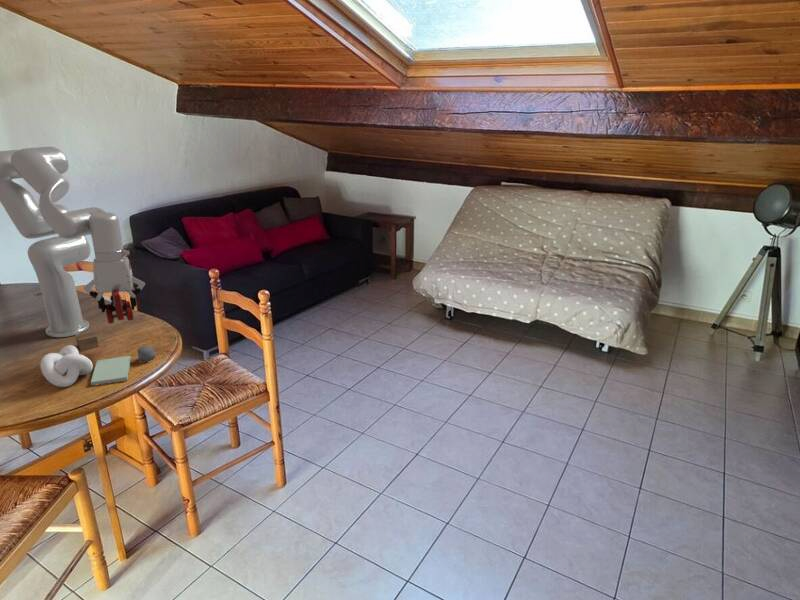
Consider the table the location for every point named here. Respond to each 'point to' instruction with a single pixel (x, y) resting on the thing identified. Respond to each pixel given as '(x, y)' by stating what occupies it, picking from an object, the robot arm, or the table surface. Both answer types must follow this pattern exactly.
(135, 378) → the table surface
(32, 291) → the table surface
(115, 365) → the board
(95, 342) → the walnut block
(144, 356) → the grey rounded pebble
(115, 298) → the red wheeled piece
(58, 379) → the white knot
